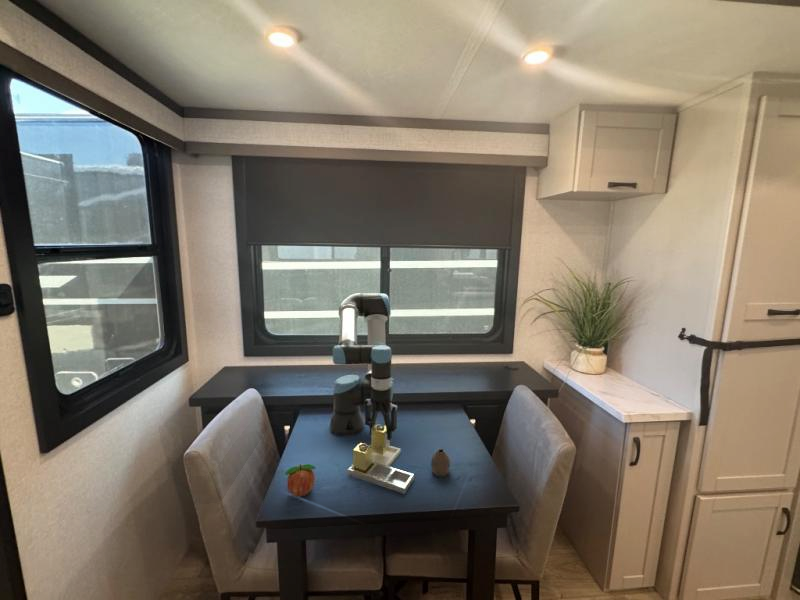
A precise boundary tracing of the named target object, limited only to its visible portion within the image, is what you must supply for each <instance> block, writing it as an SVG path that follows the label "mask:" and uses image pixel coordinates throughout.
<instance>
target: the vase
mask: <svg viewBox="0 0 800 600" xmlns="http://www.w3.org/2000/svg"><path fill="white" fill-rule="evenodd" d="M430 469H431V471H432V473H433V474H434V475H435V476H437V477H445V476H447V475H448V474H449V472H450V471H451V470H450V469H451V461H450V458H449V456H448V454H447V453H446V451H445V450H444V449H443V448H442V449H441V448H439V449H438V450H437V451H436V452H435V453H434V454H433V456H432V458H431V461H430Z"/></svg>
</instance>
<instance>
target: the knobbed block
mask: <svg viewBox="0 0 800 600" xmlns="http://www.w3.org/2000/svg"><path fill="white" fill-rule="evenodd" d="M374 426H375V427H374V428H373V429H372V446H373V452H374V453H377V454H381V455H384V454H385V453H386V451H387V450H388V449H389V446H390V445H389V446H388V447H387V449H386V448H385V431H386V426H385V424H380V423H377V424H375V425H374Z"/></svg>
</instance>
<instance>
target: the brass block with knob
mask: <svg viewBox="0 0 800 600" xmlns="http://www.w3.org/2000/svg"><path fill="white" fill-rule="evenodd" d="M370 445H371V444H367V443H364V442H363V443H362V442H360V443H359V444H357V445H356V447H354V448H353V452H352V465H353V469H354V470H357V471H360V472H363V473H367V472H368V471H369V470H370V468H371V467H372V456H373V446H370Z"/></svg>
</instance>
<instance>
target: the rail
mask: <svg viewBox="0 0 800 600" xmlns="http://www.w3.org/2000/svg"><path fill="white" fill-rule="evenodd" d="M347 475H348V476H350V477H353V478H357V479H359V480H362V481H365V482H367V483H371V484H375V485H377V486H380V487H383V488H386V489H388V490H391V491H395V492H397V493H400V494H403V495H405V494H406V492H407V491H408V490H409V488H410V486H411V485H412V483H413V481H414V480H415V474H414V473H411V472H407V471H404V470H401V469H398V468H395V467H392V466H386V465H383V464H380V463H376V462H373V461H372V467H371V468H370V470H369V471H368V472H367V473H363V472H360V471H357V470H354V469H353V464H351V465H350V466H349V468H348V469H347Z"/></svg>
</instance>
